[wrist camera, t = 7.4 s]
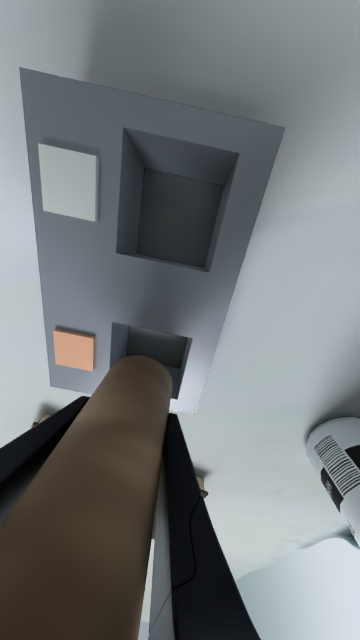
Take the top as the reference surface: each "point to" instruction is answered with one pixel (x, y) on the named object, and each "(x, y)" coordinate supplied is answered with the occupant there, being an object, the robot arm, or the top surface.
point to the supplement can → (339, 465)
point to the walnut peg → (89, 516)
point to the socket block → (133, 223)
